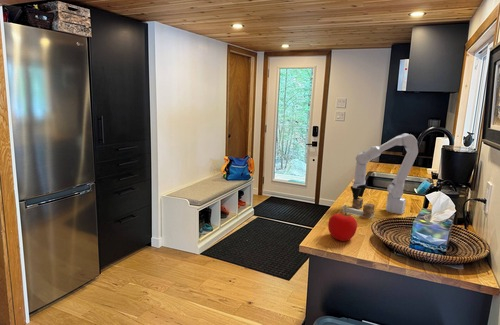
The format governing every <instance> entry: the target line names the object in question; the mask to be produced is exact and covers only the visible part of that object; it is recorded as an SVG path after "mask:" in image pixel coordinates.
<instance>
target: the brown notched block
mask: <svg viewBox="0 0 500 325" xmlns="http://www.w3.org/2000/svg"><path fill="white" fill-rule="evenodd" d="M351 205H352V206H351V208H353V209H358V210H361V209H363V206H364V199H363V197H358V199H357V200H355V199H353V198H352V204H351Z"/></svg>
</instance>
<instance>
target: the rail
mask: <svg viewBox="0 0 500 325" xmlns="http://www.w3.org/2000/svg"><path fill="white" fill-rule="evenodd" d="M340 212H341V213H344V214H345V213H346V214H352V215H354V216H357V217H362V218H367V219H370V220H371V219H373V217H375V216H376V215H375V214H374V215H373V213H371V218H369V217H365V216H363V209H362V210H361V209H359V210H358V209H354V208H352V207H349V206H347V204H344V205H343V206H342V210H341V211H340Z"/></svg>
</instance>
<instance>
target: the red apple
mask: <svg viewBox="0 0 500 325" xmlns="http://www.w3.org/2000/svg"><path fill="white" fill-rule="evenodd" d="M352 215H353V214H349V213H345V212H344V213H342V212H341V213H334V214H332V215H331V216H330V217H329V220H328V222H327V226H328V227H327V228H328V232H329V233H330V235H331V236H332V238H334V239H335V240H337V241H341V242H345V241H346V242H347V241H349V240H351V239H352V238H354V236H355V234H356V233H357V229H358V223H357V220H356V219H355V217H354V216H352Z"/></svg>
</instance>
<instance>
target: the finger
mask: <svg viewBox="0 0 500 325" xmlns="http://www.w3.org/2000/svg"><path fill="white" fill-rule="evenodd" d="M362 211H363V216H365V217H364V218H366V217H369V218H368V219H370V218H371V213H373V215H375V204H373V203H369V202H366V203H365V204H363V205H362ZM371 219H372V218H371Z"/></svg>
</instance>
